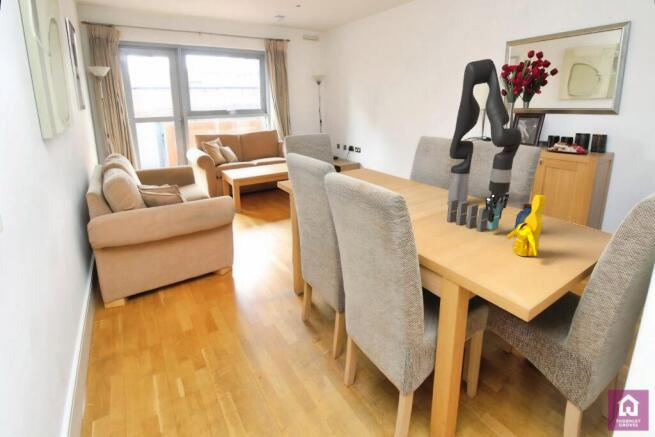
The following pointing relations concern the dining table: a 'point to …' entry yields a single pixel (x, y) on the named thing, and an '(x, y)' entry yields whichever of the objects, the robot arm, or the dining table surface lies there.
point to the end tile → (495, 218)
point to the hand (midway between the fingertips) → (494, 219)
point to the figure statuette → (529, 230)
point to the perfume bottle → (523, 214)
